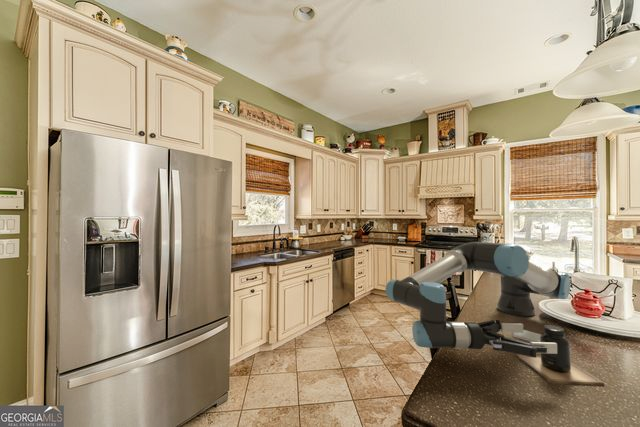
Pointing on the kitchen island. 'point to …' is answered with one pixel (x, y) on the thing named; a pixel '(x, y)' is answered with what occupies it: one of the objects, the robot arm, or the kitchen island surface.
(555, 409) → the kitchen island surface
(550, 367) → the supplement bottle
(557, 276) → the robot arm
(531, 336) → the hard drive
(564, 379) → the cork mat
